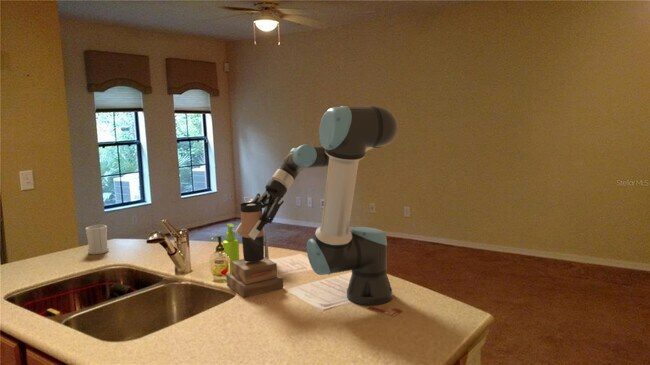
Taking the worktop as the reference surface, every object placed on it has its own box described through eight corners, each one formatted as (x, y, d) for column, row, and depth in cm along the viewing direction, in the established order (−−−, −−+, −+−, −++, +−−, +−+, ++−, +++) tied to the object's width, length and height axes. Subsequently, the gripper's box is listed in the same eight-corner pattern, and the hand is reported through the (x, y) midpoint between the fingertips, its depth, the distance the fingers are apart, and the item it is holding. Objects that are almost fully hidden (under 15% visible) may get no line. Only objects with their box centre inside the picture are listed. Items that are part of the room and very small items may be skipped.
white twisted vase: (251, 264, 193) (247, 198, 189) (244, 260, 200) (240, 195, 196) (269, 261, 197) (267, 196, 194) (262, 256, 204) (259, 193, 201)
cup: (80, 254, 215) (78, 228, 213) (93, 248, 224) (91, 224, 222) (101, 254, 213) (98, 229, 211) (113, 249, 222) (111, 224, 220)
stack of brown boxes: (283, 288, 166) (282, 263, 165) (244, 297, 158) (242, 272, 156) (264, 276, 178) (263, 253, 177) (227, 285, 170) (225, 261, 169)
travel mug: (266, 255, 170) (264, 201, 167) (261, 262, 162) (259, 205, 160) (246, 255, 171) (243, 201, 168) (240, 262, 163) (237, 205, 161)
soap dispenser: (227, 277, 178) (225, 226, 175) (223, 272, 184) (220, 223, 181) (242, 275, 181) (240, 224, 178) (237, 270, 187) (235, 221, 184)
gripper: (303, 193, 167) (268, 246, 158) (268, 188, 181) (235, 236, 173) (291, 180, 162) (254, 234, 153) (256, 176, 177) (221, 225, 168)
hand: (244, 235), depth 163 cm, fingers open, 8 cm apart
